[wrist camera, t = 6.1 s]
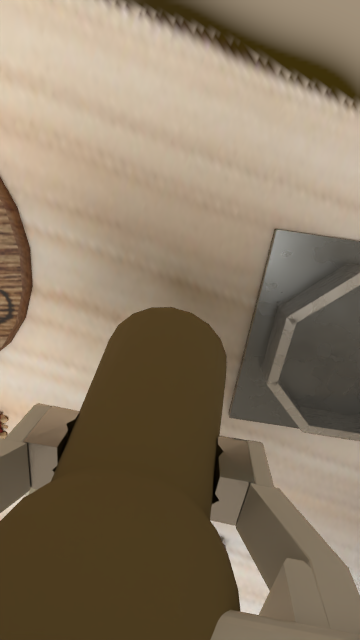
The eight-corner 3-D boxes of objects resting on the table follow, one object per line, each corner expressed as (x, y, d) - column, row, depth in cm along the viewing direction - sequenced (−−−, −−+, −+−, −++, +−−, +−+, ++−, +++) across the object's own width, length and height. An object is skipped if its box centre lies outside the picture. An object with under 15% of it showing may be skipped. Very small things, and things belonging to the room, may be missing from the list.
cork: (250, 340, 13) (416, 810, 3) (194, 429, 15) (172, 876, 5) (131, 285, 13) (-196, 611, 2) (91, 385, 15) (-169, 783, 4)
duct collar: (507, 262, 21) (556, 271, 18) (405, 441, 28) (429, 467, 25) (274, 228, 22) (286, 231, 19) (228, 413, 28) (232, 436, 25)
